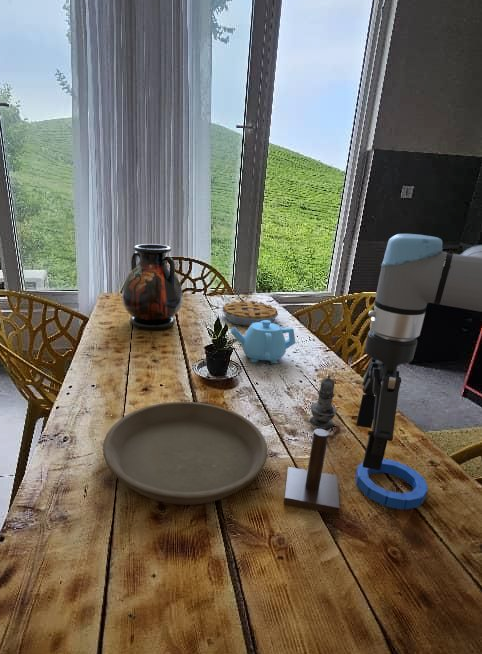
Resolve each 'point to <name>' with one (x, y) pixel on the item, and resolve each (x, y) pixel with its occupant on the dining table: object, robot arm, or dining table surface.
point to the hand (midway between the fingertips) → (367, 445)
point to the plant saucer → (185, 452)
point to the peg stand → (313, 481)
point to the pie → (249, 312)
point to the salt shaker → (324, 405)
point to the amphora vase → (152, 288)
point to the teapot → (265, 341)
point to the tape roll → (389, 497)
